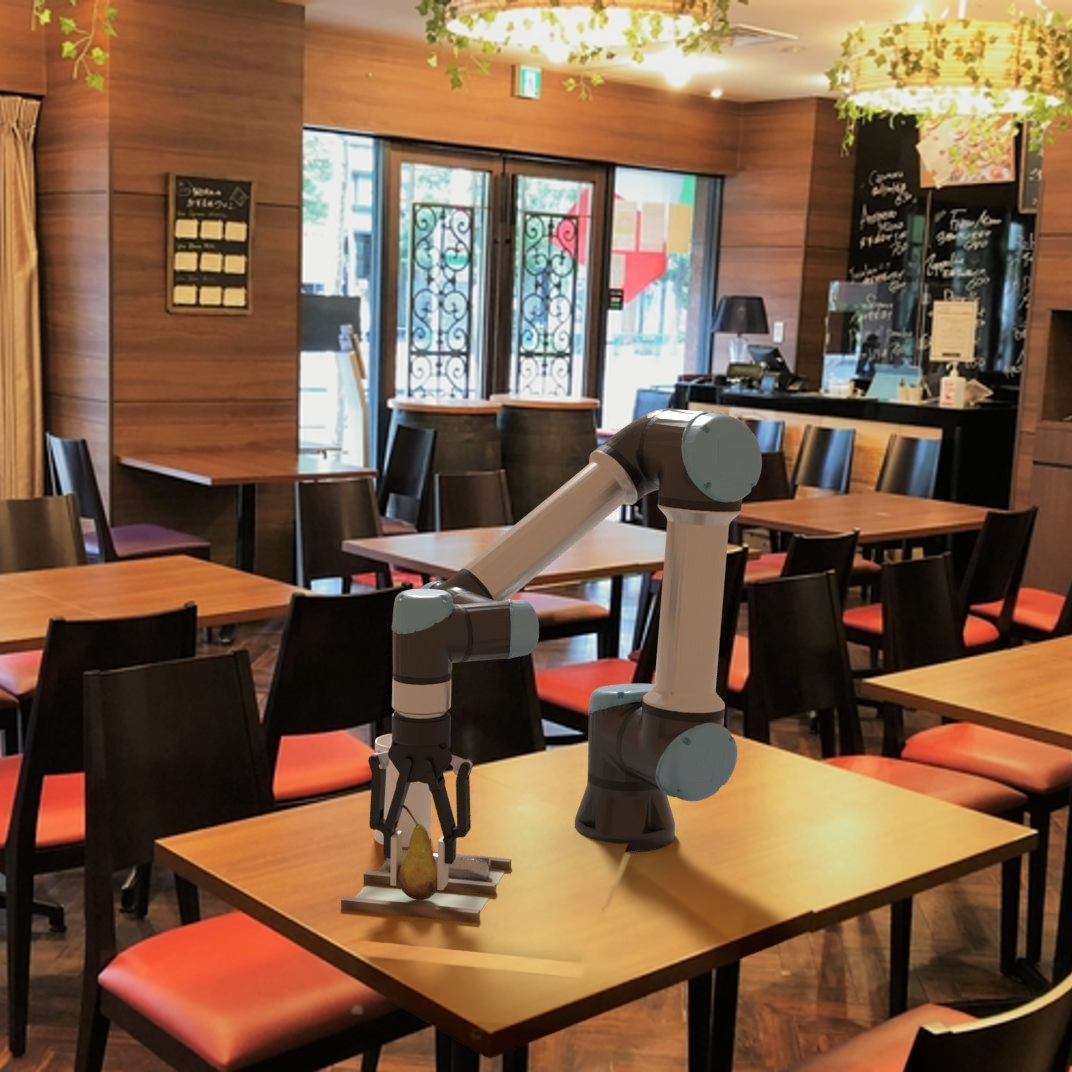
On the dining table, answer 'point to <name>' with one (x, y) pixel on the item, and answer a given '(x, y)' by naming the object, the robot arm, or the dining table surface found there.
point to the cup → (415, 799)
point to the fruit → (418, 866)
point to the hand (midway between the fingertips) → (419, 883)
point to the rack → (432, 907)
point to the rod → (461, 866)
